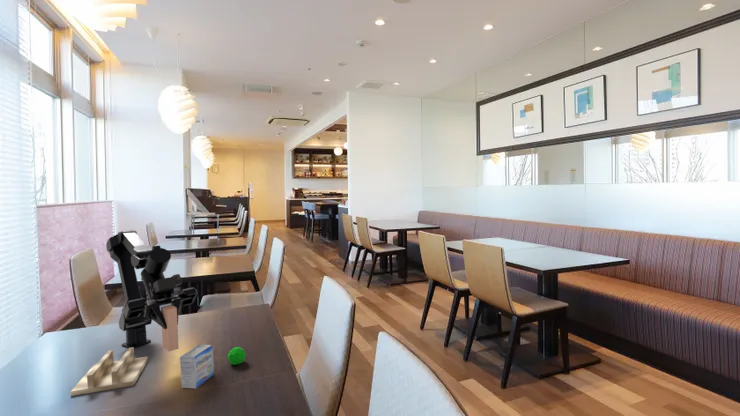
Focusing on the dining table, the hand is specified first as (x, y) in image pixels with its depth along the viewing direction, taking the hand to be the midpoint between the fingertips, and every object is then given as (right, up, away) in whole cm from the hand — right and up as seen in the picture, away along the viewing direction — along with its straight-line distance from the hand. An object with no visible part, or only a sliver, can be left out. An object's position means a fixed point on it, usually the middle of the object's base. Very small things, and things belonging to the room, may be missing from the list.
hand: (171, 326), depth 105 cm
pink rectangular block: (-1, -7, +1) cm, 7 cm away
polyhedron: (+17, -13, +5) cm, 22 cm away
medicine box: (+10, -14, -5) cm, 18 cm away
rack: (-16, -14, -1) cm, 21 cm away
